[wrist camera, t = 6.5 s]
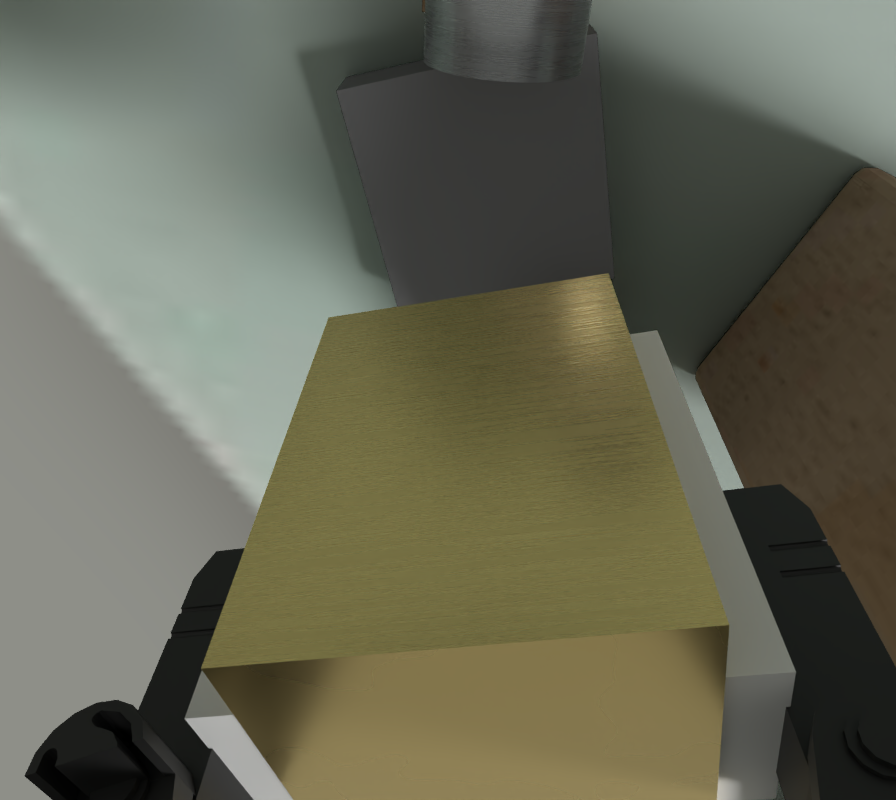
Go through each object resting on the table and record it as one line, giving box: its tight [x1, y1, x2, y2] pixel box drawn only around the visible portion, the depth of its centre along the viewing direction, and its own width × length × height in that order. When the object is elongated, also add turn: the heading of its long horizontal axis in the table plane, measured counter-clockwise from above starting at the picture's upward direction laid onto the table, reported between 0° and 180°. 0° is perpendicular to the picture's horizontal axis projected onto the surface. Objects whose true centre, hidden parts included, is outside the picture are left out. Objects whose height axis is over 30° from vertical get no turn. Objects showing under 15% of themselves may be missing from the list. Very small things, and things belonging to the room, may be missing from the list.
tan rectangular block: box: [201, 273, 729, 800], centre depth 11 cm, size 5×5×7 cm
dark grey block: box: [336, 24, 614, 307], centre depth 24 cm, size 8×8×2 cm
